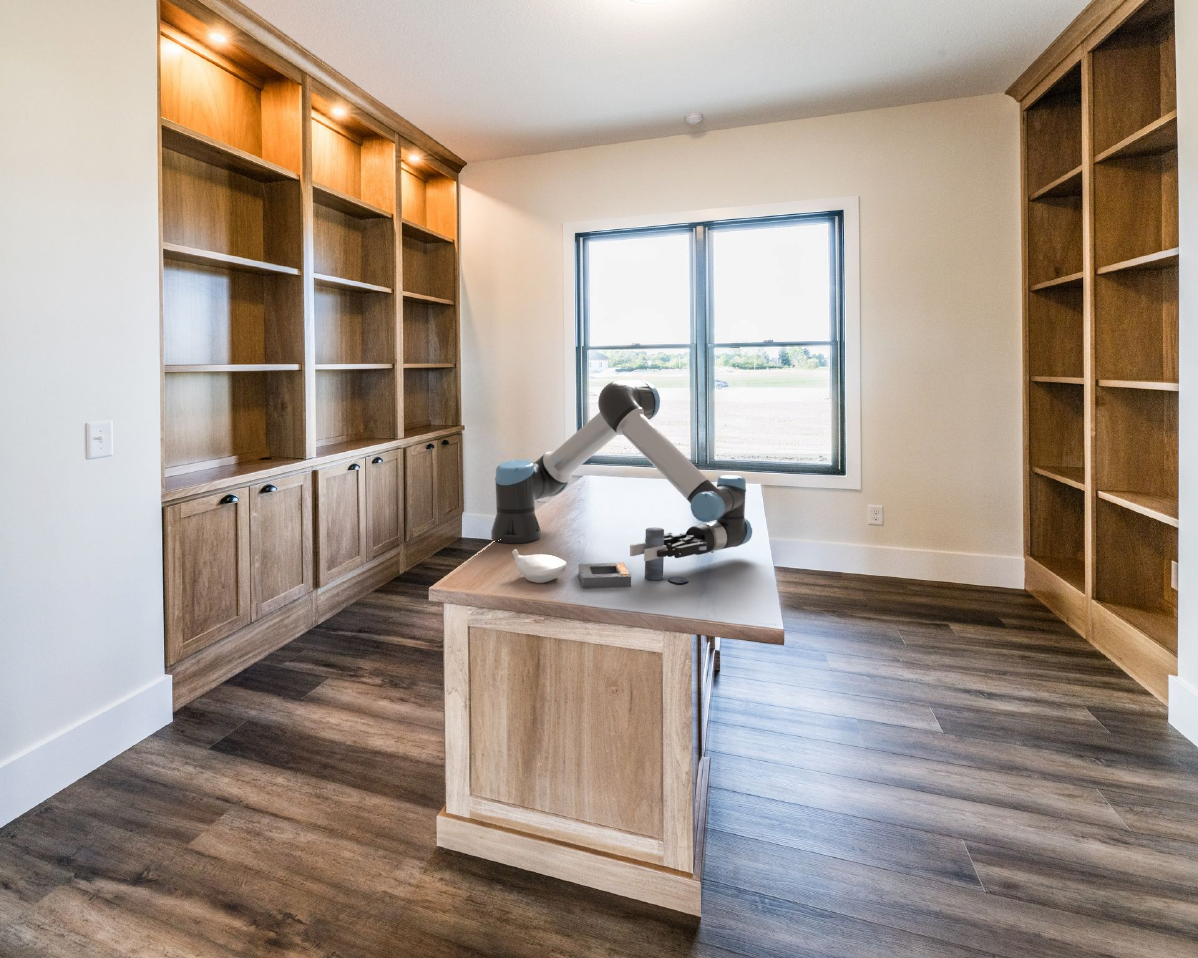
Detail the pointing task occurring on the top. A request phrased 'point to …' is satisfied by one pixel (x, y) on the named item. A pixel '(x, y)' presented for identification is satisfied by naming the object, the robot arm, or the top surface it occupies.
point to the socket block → (604, 575)
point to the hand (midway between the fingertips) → (638, 552)
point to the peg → (654, 566)
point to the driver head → (539, 566)
